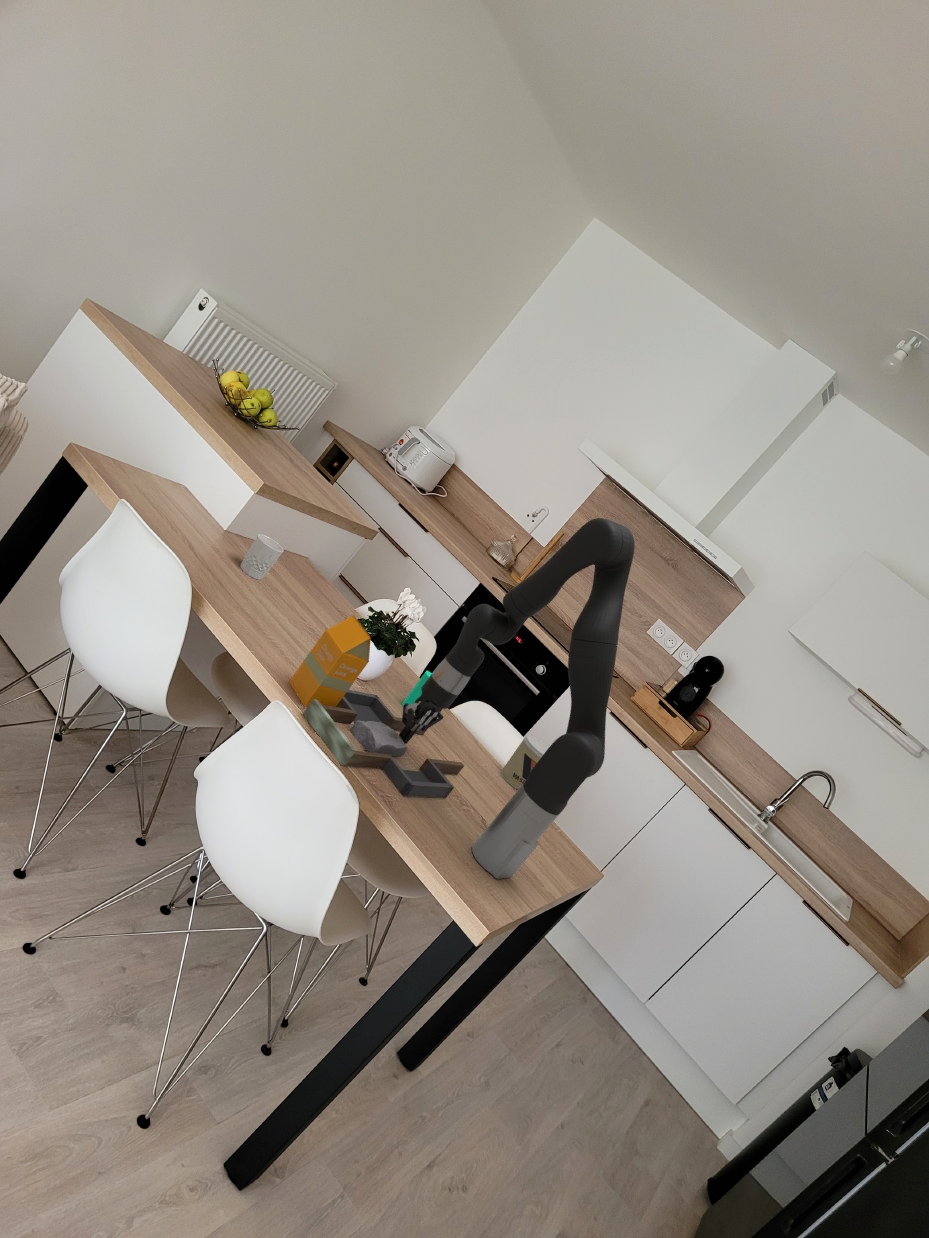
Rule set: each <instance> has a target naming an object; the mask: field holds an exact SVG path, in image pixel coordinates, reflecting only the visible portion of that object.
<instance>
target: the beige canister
mask: <svg viewBox="0 0 929 1238" xmlns="http://www.w3.org/2000/svg"><path fill="white" fill-rule="evenodd" d="M548 748H549V747H548V745H546V744H545V743H544V742H543V741H541V740H540V739H539V738H537V737H535V736H533V735H530V734H528V735H526V736H524V737H523V739H522V741H521V742H520V744H519V745H518V746H517V748H516V749H515V751H514V752H513V753H512V755H511V756H510V758H509V760H508V761H507V762H506V764H505V765H504V766H503V768H502V769H501V772H500V773H501V776H502V778H503V779H504V780H505V781H506V782H507V784H508V785H510V786H511V787H512V788H514V789H516V791H518V790H519V788H520V787H521V786H522V785H523V784H524V782H525V781H526V780H527V778H528V777H529V774H530V772H531V770H532V769H533V767H534V766H535V765H536V764H537V762H538V761H539V760H540V758H541V757H542V756H543V755H544V753H545V752H546V751H547V749H548Z"/></svg>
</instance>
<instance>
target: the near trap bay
mask: <svg viewBox="0 0 929 1238" xmlns="http://www.w3.org/2000/svg"><path fill="white" fill-rule="evenodd" d="M381 770H382V771H383V773H385V774H386V775H385V776H387V778H389V780H390V781H391V782H392V784H393V786H394V787H395V788H396V789H397V790H398V792H399V793H400V794H401V795H402V797H416V798H417V797H418V798H440V799H441V798H442V799H443V798H444V799H446V798H448V796H449V795H450V793H451V792H452V791H453V790H454V788H455V787H454V786H453V784H452V783H451V781H449V780H448V778H447V777H446V776H445V774H442V773H441V771H440V770H439V769H438V768H437V767H436V765H435V764H434V763H433V762H430V763H429V764H428V765H427V767H426V768H425V769H424V770H423V772H422V771H421V770H410V769H403V768H402V767H401V766H400V764H399V762H397V761H396V759H395V757H393V758H390V759H389V760H388V762H387V763H386V764H385V766H384V767H383V768H382V769H381Z"/></svg>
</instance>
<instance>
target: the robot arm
mask: <svg viewBox="0 0 929 1238" xmlns="http://www.w3.org/2000/svg"><path fill="white" fill-rule="evenodd" d="M635 547H636V545H635V538H634V536H633V533H632V531H631V530H630V529H629V528H628V527H626V526H625V525H623V524H620V523H618V522H615V521H613V520H610V519H607V518H603V517H596V518H592V519H590V520H589V521H587V522H585V523H584V524H583V525H582V526H581V527H579V529H578V530H577V531H575V532H574V534H573V535H572V536H571V537H570V538H569V539H568V540H567V541H566V542H565V543H564V544H563V545H562V546H561V547H560V548H559V549H557V551H556V552H555V553H554V554H553V555H552V556H551V557H550V558H549V559H548V560H547V561H546V562H545V563H544V564H543V565H542V566H541V567H539V568H538V569H537V570H536V571H535V572H533V573H531V575H529V576H528V577H527V578H525V579H524V580H523V581H521V582H520V583H518V584H517V585H515V586H514V587H513V588H511V590H509V591H508V592H506V594H505V595H504V596H503V598H502V606H503V609H504V610H505V612H502V611H500V610H499V609H497V608H495V607H493V606H492V605H489V604H487V603H481V604H478V605H476V606H475V607H474V608H473V609H471V611H470V612H469V613H468V615H467V617H466V619H465V621H464V625H463V627H462V629H461V632H460V634H459V636H458V639H457V641H456V644H454V646H453V647H452V649H450V651H449V653H447V655H446V656H445V657H444V659H443V660H442V661H440V663H439V664H438V665H437V666H436V668H435V669H434V670H433V672H431V673H432V674H431V676H430V677H429V678H428V679H427V681H426V682H425V683H424V685H423V686H422V688H421V691H422V695H421V696H420V697H419V698H418V699H416V701H415V703H414V704H411V705H409V704H408V703H406V704H404V706H403V705H402V714H401V715H402V717H401V718H402V722H403V723H404V724H405V727H404V728H403V730H402V731H401V732H399V733H398V735H399V736H400V737H401V739H402V740H403V742H404V744H405V745H407V744H408V743H409V741H410V740H411V739H412V738H413V736H414V735H416V734H415V733H417V732H419V731H420V730H422V731H425V730H426V729H427V730H428V729H430V728H431V727H433V726H434V725H436V724H437V723H439V722H441V721H442V720H443V719H444V715H443V714H442V711H443V710H447V709H449V708H450V707H451V705H452V704H453V703H454V701H455V700H456V699H457V698H458V696H459V695H460V693H461V692H462V691H463V690H464V688H466V685H467V684H468V682H469V681H470V679H471V677H472V676H473V675H474V674H475V673H476V671H477V670H478V669H479V667H480V666H481V664H482V663H483V662H484V659H485V653H484V652H483V650H482V649H481V648H480V647H479V646H478V643H479V641H480V639H482V640H484V641H486V642H488V643H491V644H493V645H495V646H496V645H497V646H500V645H504V644H506V643H509V642H510V641H511V640H512V639H513V638H514V637H515V636H516V634H518V631H519V630H520V629H521V628H522V626H523V625H524V624H525V623H526V622H527V620H528V619H529V618H531V617H532V616H534V615H535V614H537V613H538V612H540V611H541V610H542V609H543V608H545V607H546V606H548V605H549V604H550V603H551V602H552V601H553V600H554V599H555V598H556V597H557V595H558V593H559V592H560V591H561V589H562V588H563V586H564V585H565V583H566V582H568V581H569V580H570V579H571V578H572V577H573V576H574V575H576V574H578V573H579V572H581V571H583V570H585V569H587V568H589V567H591V566H594V572H593V581H592V587H591V589H590V590H591V591H590V594H589V597H588V599H587V601H586V602H585V605H584V606H583V609H582V610H581V611H580V614H579V615H578V616H577V619H576V621H575V623H574V625H573V628H572V631H571V636H570V644H569V649H568V658H567V659H568V661H567V672H568V673H567V675H568V683H569V691H570V692H569V693H570V712H569V718H568V723H567V728H566V732H565V733H564V734H562V735H559V736H558V737H557V738H556V739H555V740H554V741H553V742H552V743H551V745H550V746H549V747H548V749H547V751H546V752H545V753H544V755H543V756H542V757H541V758H540V760H539V761H538V762H537V764H536V765H535V766H534V767H533V769H532V770H531V772H530V774H529V777H528V778H527V780H526V781H525V782H524V784H523V785H522V786H521V787H520V788H519V790H516V793H514V795H513V796H512V797H511V798H510V799H509V800H508V802H507V803H506V804H505V805H504V806H503V808H502V809H501V810H500V811H499V812H498V814H497V815H496V816H495V818H494V819H493V820H492V822H490V823H489V825H488V826H487V827H486V829H485V830H484V831H483V833H482V834H481V835H480V836H479V837H478V838H477V840H476V841H475V842H474V844H472V846H471V852H472V854H473V856H474V858H475V860H476V861H477V862H478V863H479V865H480V866H481V867H482V868H484V869H485V871H487V872H488V873H490V874H491V875H492V876H493V877H494V878H495V879H497V880H499V879H500V880H501V879H507V878H509V879H510V878H512V877H513V876H514V875H515V874H516V873H517V871H518V870H519V869H520V868H521V866H522V865H523V864H524V863H525V862H526V860H527V859H528V858H529V857H530V855H531V854H532V853H533V852H534V850H535V849H537V847H538V846H539V844H540V842H539V841H538V840H539V839H540V838H541V837H542V835H544V833H546V831H547V830H548V828H549V827H550V826H551V825H552V824H553V823H554V821H555V820H556V819H557V818H558V816H560V815H561V813H562V812H563V811H564V809H565V808H566V807H567V806H568V802H569V800H570V799H571V797H572V796H573V795H574V794H575V793H576V791H577V790H578V789H579V788H580V786H581V785H582V784H583V783H584V782H585V781H586V779H588V778H591V777H592V776H594V775H596V774H597V773H598V772H599V771H600V769H601V768H602V765H603V764H604V760H605V754H606V753H605V751H606V720H607V710H608V709H607V708H608V704H609V700H610V694H611V689H612V683H613V677H614V676H613V675H614V672H615V664H616V659H617V651H618V643H619V633H620V628H621V627H620V626H621V621H622V620H621V619H622V613H623V605H624V598H625V592H626V589H627V583H628V579H629V576H630V571H631V569H632V563H633V559H634V556H635Z"/></svg>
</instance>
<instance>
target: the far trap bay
mask: <svg viewBox="0 0 929 1238" xmlns="http://www.w3.org/2000/svg"><path fill="white" fill-rule="evenodd" d="M336 707H338V708H344V709H350V710H355V711H356V712H357V713H358V715H357V716H356V718H355V719H354V720H353V722H352V723H355V722H356V721H357V720H359V721H364V722H367V721H375V722H381V723H383V724H385V725H386V724H387V723H388V721H389V720H390V719H391V717H396V716H395V715H394V713H393V712H392V711H391V710H390V709H389V708H388V707H387V705H385V703H384V702H383V701H382V699H381V698H380V696H378V695H377V694H372V693H368V692H363V691H358V690H353V689H349V690H348V691H347V693H346V694H345V695H344V696H343V698H342V699H341V700H340V702H339V703H338V704H337V706H336Z"/></svg>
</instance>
